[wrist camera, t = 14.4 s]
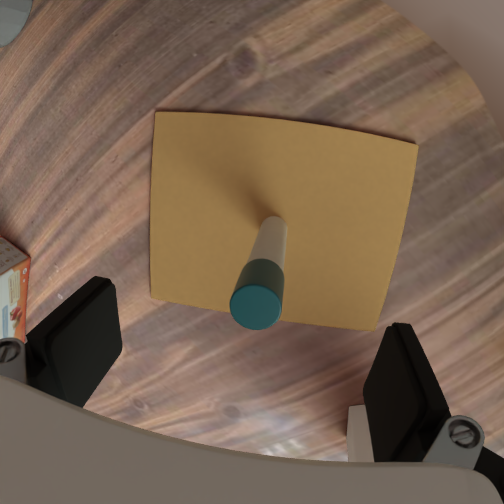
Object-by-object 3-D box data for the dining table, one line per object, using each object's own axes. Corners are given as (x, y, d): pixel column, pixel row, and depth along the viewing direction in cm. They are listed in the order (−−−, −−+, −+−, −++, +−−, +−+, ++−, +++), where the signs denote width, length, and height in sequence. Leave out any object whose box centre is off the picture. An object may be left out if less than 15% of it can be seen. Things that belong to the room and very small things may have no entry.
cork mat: (157, 111, 23) (155, 111, 23) (417, 144, 21) (418, 145, 21) (152, 296, 29) (151, 298, 28) (373, 329, 27) (374, 331, 26)
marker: (261, 212, 24) (230, 280, 13) (290, 216, 24) (285, 288, 13) (257, 240, 25) (227, 326, 14) (286, 244, 25) (277, 334, 14)
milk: (348, 405, 30) (360, 604, 10) (403, 397, 29) (443, 585, 9) (346, 438, 32) (351, 610, 12) (395, 431, 31) (421, 596, 11)
